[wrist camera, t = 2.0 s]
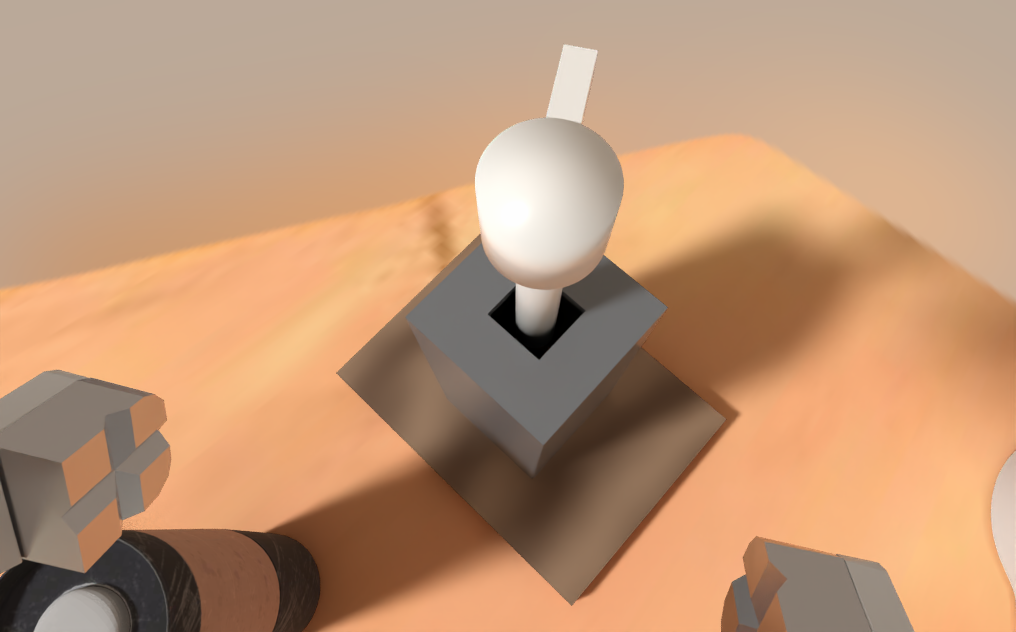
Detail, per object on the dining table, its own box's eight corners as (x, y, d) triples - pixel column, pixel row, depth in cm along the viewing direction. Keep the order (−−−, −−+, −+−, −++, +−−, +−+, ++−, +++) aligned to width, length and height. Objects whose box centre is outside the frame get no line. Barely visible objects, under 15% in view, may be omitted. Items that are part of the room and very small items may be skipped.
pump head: (624, 295, 31) (703, 126, 18) (537, 389, 29) (555, 278, 17) (551, 234, 32) (575, 34, 19) (463, 322, 30) (426, 169, 18)
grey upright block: (610, 392, 45) (668, 307, 28) (532, 479, 43) (543, 445, 26) (525, 318, 47) (530, 195, 30) (446, 398, 45) (405, 317, 28)
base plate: (719, 422, 46) (726, 419, 44) (569, 603, 42) (571, 605, 41) (493, 230, 51) (492, 221, 49) (341, 377, 47) (336, 372, 46)
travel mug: (284, 505, 44) (111, 485, 25) (348, 600, 42) (212, 655, 23) (186, 581, 43) (-75, 620, 24) (247, 683, 41) (16, 813, 22)
